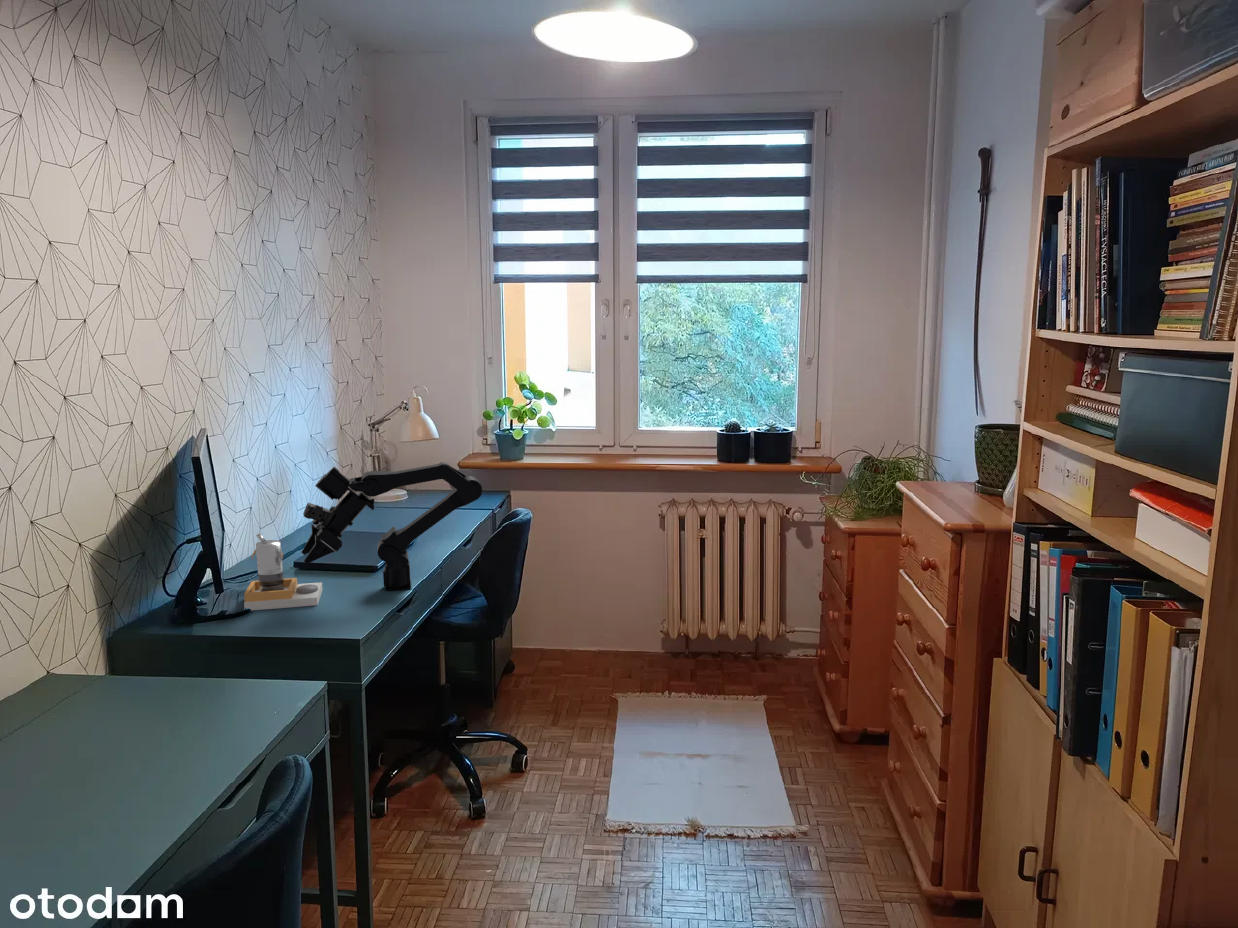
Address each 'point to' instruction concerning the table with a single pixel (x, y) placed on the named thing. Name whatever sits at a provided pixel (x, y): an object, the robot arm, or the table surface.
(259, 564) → the spout can
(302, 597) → the white orange holder tray
